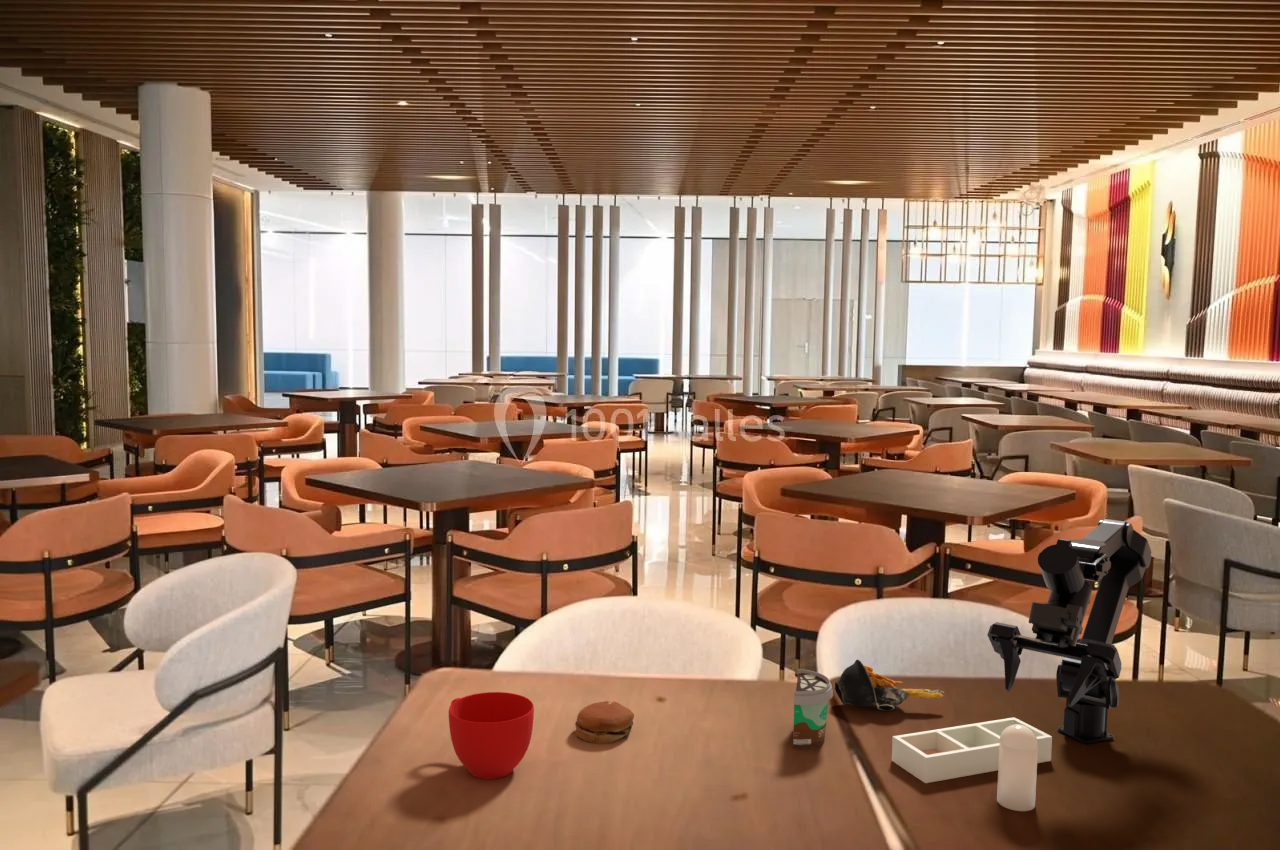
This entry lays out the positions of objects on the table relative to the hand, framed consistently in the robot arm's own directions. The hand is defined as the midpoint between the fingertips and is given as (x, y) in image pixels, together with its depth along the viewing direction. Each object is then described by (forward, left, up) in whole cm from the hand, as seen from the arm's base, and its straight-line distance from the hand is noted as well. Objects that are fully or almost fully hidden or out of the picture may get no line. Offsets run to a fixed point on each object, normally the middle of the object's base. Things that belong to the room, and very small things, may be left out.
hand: (1037, 697), depth 151 cm
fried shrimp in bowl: (+3, -34, -14) cm, 37 cm away
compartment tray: (+3, -10, -14) cm, 17 cm away
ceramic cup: (+77, -34, -14) cm, 85 cm away
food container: (+23, -26, -14) cm, 37 cm away
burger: (+55, -40, -14) cm, 69 cm away
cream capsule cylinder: (+7, +4, -14) cm, 16 cm away
